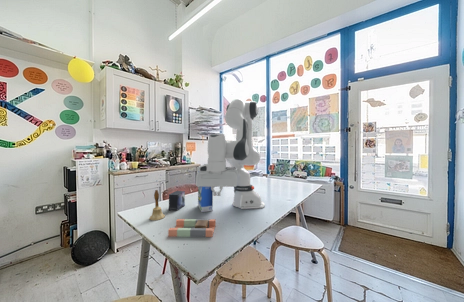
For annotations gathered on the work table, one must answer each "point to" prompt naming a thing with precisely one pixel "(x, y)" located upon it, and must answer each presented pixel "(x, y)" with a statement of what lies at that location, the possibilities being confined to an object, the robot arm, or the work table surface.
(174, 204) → the small box
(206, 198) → the string lights box
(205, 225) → the walnut block
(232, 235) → the work table surface
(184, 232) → the multicolored rectangular frame
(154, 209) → the hand bell
